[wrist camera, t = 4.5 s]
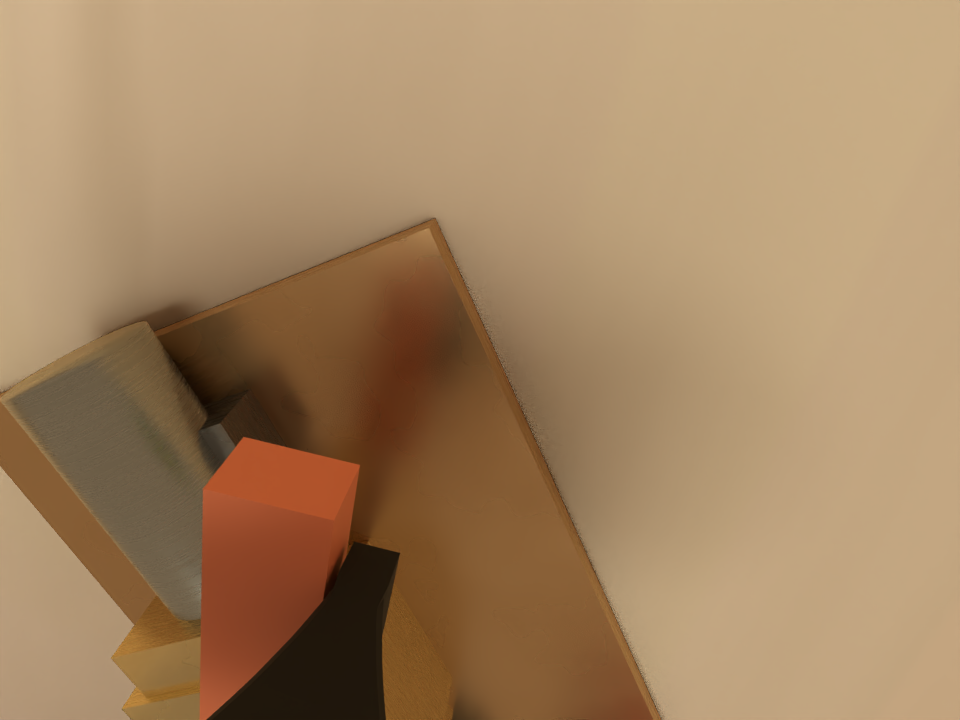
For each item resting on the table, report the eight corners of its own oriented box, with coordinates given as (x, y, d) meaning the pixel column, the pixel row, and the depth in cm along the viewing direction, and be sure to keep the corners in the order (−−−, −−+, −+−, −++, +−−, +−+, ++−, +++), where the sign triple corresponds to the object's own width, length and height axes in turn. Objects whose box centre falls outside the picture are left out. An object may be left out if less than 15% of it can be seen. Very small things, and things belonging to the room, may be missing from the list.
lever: (328, 839, 17) (306, 917, 15) (206, 809, 17) (172, 883, 15) (398, 464, 11) (373, 530, 10) (215, 420, 11) (164, 479, 10)
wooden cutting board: (689, 782, 22) (718, 961, 18) (332, 829, 26) (286, 986, 22) (425, 197, 14) (366, 269, 10) (-31, 386, 18) (-213, 496, 14)
